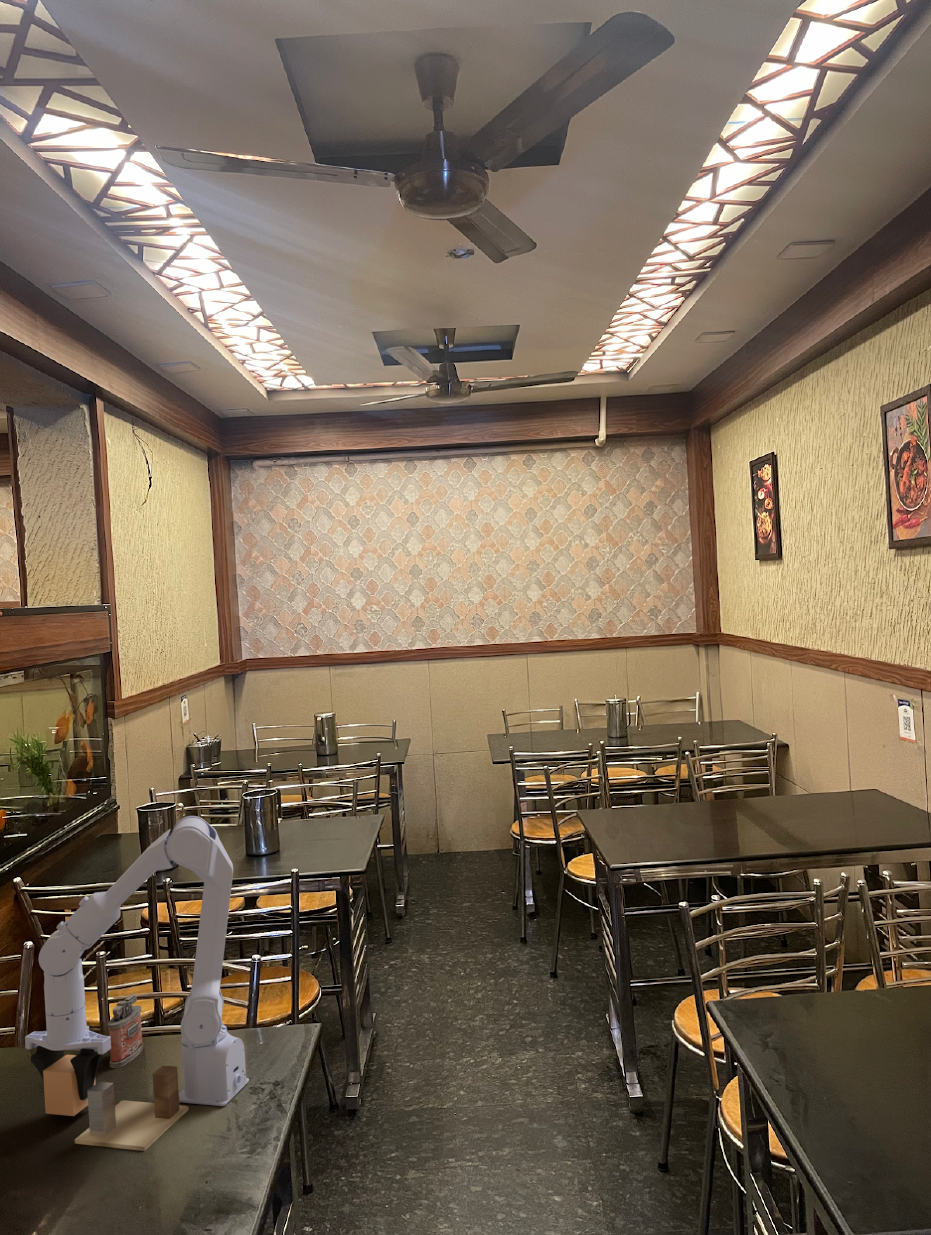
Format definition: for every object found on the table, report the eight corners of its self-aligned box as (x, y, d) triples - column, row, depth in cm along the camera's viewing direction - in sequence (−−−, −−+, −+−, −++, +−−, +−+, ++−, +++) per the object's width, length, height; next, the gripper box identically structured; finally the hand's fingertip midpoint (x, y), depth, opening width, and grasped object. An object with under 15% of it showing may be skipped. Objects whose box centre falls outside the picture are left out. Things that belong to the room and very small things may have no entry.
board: (188, 1110, 137) (187, 1106, 137) (144, 1150, 127) (144, 1146, 127) (122, 1103, 141) (122, 1100, 141) (74, 1143, 130) (74, 1139, 130)
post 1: (116, 1127, 133) (113, 1082, 133) (104, 1137, 130) (102, 1091, 130) (101, 1126, 133) (99, 1081, 133) (89, 1135, 131) (87, 1090, 131)
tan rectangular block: (96, 1098, 140) (94, 1056, 140) (73, 1116, 135) (71, 1072, 135) (69, 1095, 141) (66, 1054, 141) (45, 1113, 136) (43, 1070, 136)
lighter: (122, 1068, 153) (119, 1010, 153) (105, 1067, 154) (101, 1010, 154) (148, 1046, 161) (144, 991, 161) (131, 1045, 162) (128, 991, 162)
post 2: (179, 1109, 136) (177, 1066, 137) (169, 1119, 134) (167, 1074, 134) (165, 1108, 137) (162, 1065, 137) (155, 1117, 135) (152, 1073, 135)
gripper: (121, 999, 140) (126, 1085, 140) (45, 996, 144) (50, 1079, 144) (91, 1019, 133) (96, 1109, 133) (13, 1014, 137) (18, 1102, 137)
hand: (70, 1095), depth 138 cm, fingers closed on tan rectangular block, 5 cm apart
